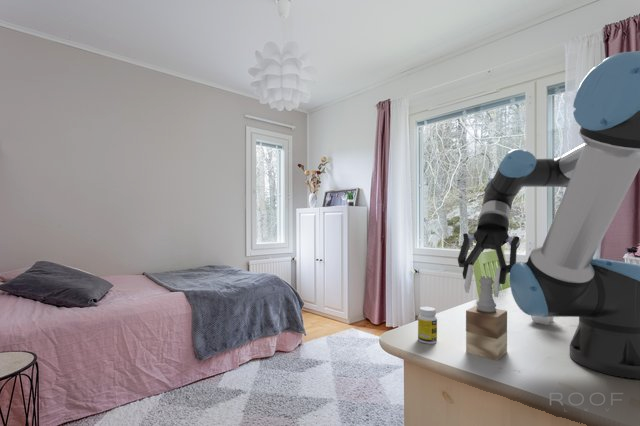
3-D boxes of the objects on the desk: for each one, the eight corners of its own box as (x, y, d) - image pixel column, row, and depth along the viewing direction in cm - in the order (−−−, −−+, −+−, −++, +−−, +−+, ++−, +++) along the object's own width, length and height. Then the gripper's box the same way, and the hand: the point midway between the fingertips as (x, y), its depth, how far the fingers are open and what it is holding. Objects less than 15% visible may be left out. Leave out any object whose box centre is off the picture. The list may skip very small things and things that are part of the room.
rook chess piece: (499, 313, 80) (499, 279, 80) (478, 312, 81) (478, 278, 81) (493, 308, 84) (493, 275, 84) (474, 307, 85) (474, 275, 85)
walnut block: (507, 331, 82) (507, 310, 82) (497, 339, 77) (497, 317, 77) (476, 324, 87) (477, 305, 87) (465, 331, 82) (466, 310, 82)
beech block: (507, 352, 82) (507, 331, 82) (497, 361, 77) (497, 338, 77) (476, 344, 87) (477, 324, 87) (466, 352, 82) (466, 331, 82)
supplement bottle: (434, 345, 86) (434, 312, 86) (415, 341, 88) (415, 309, 88) (438, 339, 90) (439, 307, 90) (420, 336, 92) (421, 305, 92)
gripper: (533, 232, 91) (527, 307, 78) (460, 228, 102) (443, 293, 89) (533, 212, 87) (525, 288, 74) (456, 210, 98) (437, 276, 85)
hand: (480, 291), depth 81 cm, fingers open, 6 cm apart
